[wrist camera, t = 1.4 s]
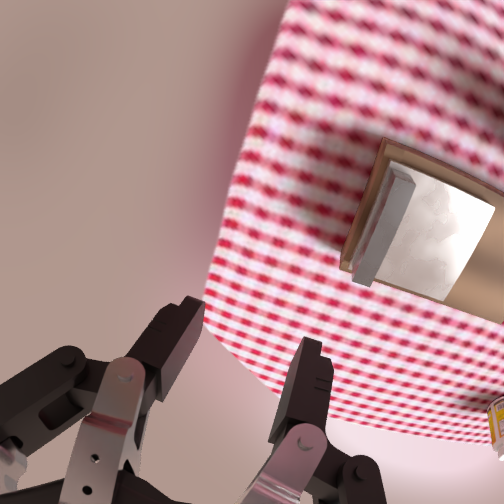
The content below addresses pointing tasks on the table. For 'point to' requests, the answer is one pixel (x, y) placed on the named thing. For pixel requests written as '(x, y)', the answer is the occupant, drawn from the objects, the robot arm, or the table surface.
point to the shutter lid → (418, 232)
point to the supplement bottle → (497, 425)
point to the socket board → (485, 253)
